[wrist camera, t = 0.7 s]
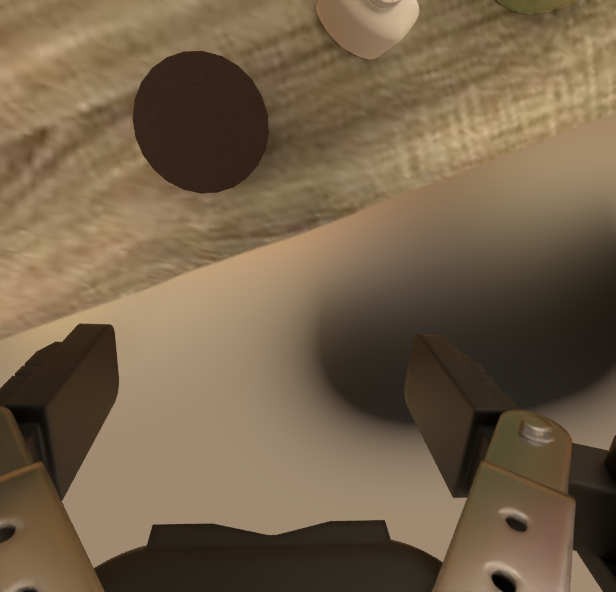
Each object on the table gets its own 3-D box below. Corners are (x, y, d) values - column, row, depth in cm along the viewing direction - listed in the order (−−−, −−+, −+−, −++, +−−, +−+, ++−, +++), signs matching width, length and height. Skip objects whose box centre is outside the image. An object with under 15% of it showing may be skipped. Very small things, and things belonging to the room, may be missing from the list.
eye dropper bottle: (365, -34, 31) (422, -128, 20) (393, 49, 33) (459, 7, 22) (308, -4, 31) (333, -81, 20) (340, 76, 33) (378, 48, 22)
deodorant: (280, 149, 35) (290, 159, 21) (212, 182, 35) (177, 214, 21) (245, 71, 32) (229, 25, 18) (173, 107, 33) (105, 88, 19)
